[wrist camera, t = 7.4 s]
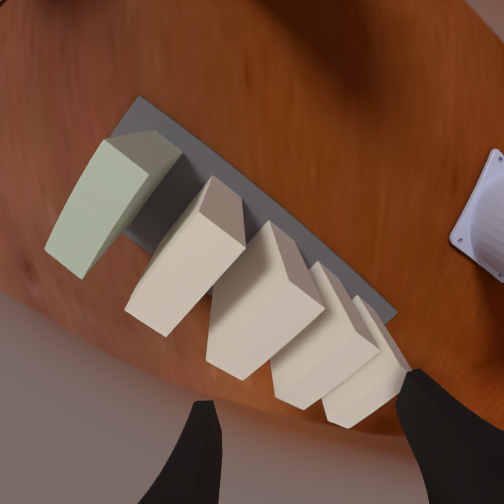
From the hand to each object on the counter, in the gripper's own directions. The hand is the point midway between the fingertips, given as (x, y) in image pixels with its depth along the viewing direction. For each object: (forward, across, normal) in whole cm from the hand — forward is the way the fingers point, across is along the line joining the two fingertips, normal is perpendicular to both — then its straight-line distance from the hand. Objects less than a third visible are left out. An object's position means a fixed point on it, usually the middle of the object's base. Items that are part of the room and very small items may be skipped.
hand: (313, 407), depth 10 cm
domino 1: (+10, +4, -4) cm, 12 cm away
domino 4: (+10, -4, +4) cm, 11 cm away
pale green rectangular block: (+10, +7, -7) cm, 14 cm away
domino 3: (+10, -1, +2) cm, 10 cm away
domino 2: (+10, +2, -1) cm, 10 cm away
